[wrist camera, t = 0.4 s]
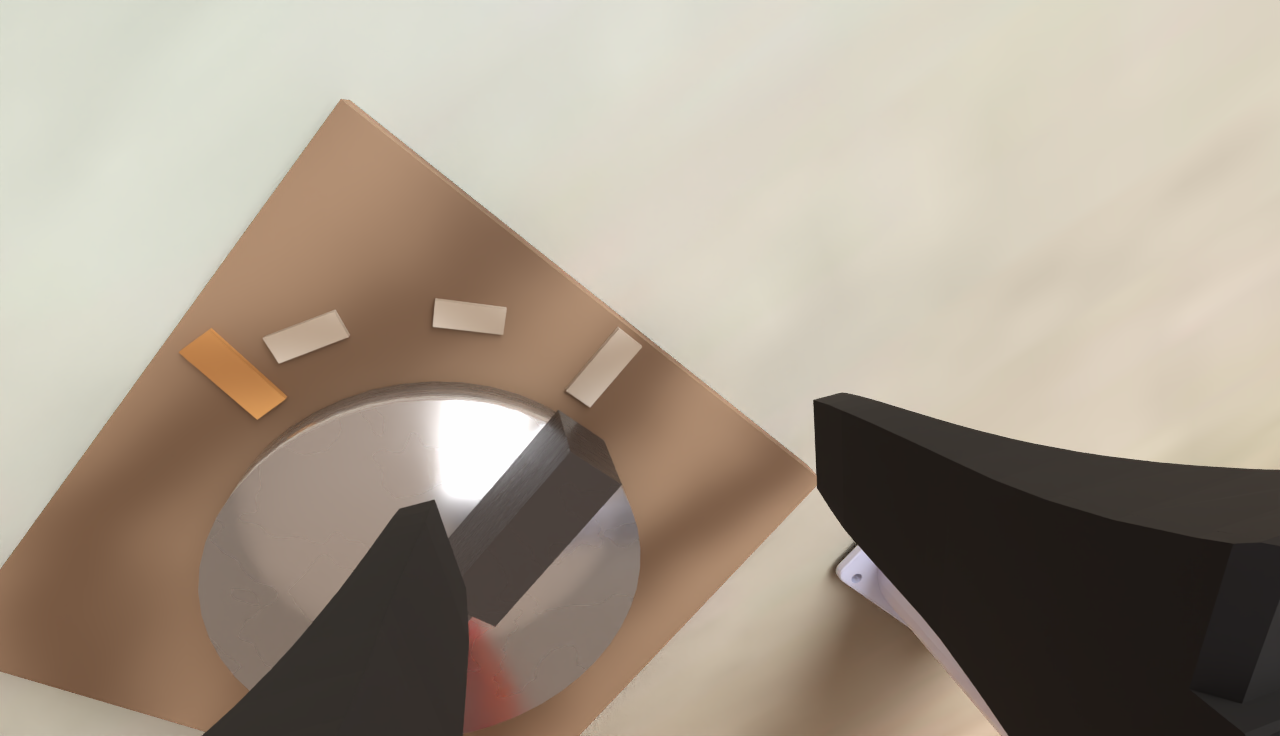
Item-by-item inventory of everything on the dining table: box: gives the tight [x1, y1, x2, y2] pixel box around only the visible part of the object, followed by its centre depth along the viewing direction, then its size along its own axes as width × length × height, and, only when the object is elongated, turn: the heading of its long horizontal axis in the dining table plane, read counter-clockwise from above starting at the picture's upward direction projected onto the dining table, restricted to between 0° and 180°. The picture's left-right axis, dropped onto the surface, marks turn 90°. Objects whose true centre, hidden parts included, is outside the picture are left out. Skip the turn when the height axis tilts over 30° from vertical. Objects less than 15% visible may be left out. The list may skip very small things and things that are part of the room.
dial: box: [198, 381, 640, 734], centre depth 19 cm, size 13×14×4 cm
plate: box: [0, 99, 817, 736], centre depth 21 cm, size 20×20×1 cm
